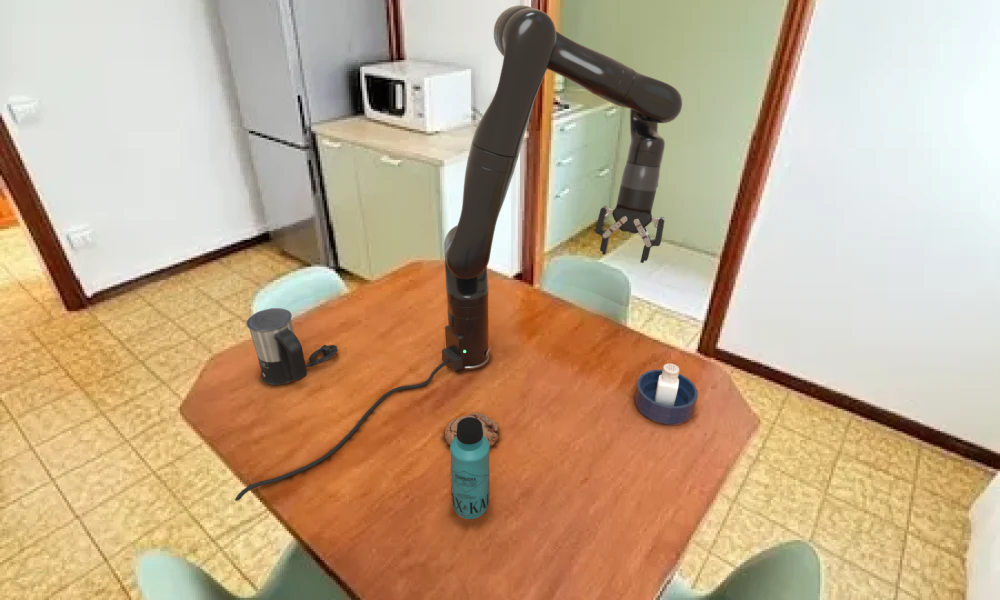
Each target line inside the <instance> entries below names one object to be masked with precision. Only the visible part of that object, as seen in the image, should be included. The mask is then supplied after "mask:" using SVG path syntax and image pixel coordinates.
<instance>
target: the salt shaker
mask: <svg viewBox="0 0 1000 600" xmlns="http://www.w3.org/2000/svg"><path fill="white" fill-rule="evenodd" d="M662 370H663V371H662V375H659V379H658V384H657V389H656V394H655V400H654V402H657V403H659V404H662V405H667V406H674V404H675V399H676V395H677V391H678V385H679V379H678V375H679V374H680V370H681V369H680V367H679V366H678V365H676V364H675V363H665V364H664V365H663V367H662Z"/></svg>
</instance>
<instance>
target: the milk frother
mask: <svg viewBox="0 0 1000 600" xmlns="http://www.w3.org/2000/svg"><path fill="white" fill-rule="evenodd" d="M292 316H293V314H292V312H291V311H290V310H288V309H285V308H281V307H272V308H271V307H270V308H267V309H263V310H259V311H257V312H255V313H253V314H252V315H250V317H248V319H247V320H246V324H245V325H246V327H247V328H248V329H249V333H250V336H251V339H252V343H253V345H254V346H253V347H254V351H255V353H256V356H257V360H258V362H259V366H260V371H261V379H262V381H263V382H265V383H266V384H268V385H273V386H280V385H286V384H288V383H292V382H293V381H300V380H303V378H306V377H307V375H308V372H307V369H308V368H311V367H315V366H317V365H320V364H321V363H324V362H326V361H329V360H330V359H332V358H333V357H334V356H336V354H337V353H338V352H339V348H338V346H337V345H335V344H328V345H327V344H323V345H322V346H319V347H318V349H317V350H315V351H314V352H312V353H311V354H310V355H309V358H308V362H309V363H308V364H306V361H305V355H304V350H303V346H302V343H301V342H300V339H299V338H298V336H297V335H296V333H295V329H294V326H293V321H292ZM320 353H321V355H322V356H323V357H320V358H316V357H317V356H318V355H319V354H320ZM315 358H316V359H315Z"/></svg>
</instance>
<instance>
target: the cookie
mask: <svg viewBox="0 0 1000 600" xmlns="http://www.w3.org/2000/svg"><path fill="white" fill-rule="evenodd" d="M467 417H474V418H477V419H478V420H480V422H481V423H482V428H483V435H484V436H485V437H486V438H487V439H488V441H489V444H490V448H491V447H492V446H494V445H495V444H496V442H497V441H498V440H499V435H498V432H499V428H500V427H499V423H498V422H497V421H496V420H494V419H493V418H492V417H490V416H488V415H487V414H485V413H480V412H470V413H469V414H464V415H461V416H459V417H456V419H451V421H450V422H449V423H448V424H447V425H446V428H445V430H444V438H445V441H446V443H447V444H448V445H449V446H450V444H451V441H452V440H453V438H454V437H455V436H456V432H457V425H458V422H459V421H460V420H462V419H463V418H467Z"/></svg>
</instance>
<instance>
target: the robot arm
mask: <svg viewBox="0 0 1000 600" xmlns="http://www.w3.org/2000/svg"><path fill="white" fill-rule="evenodd" d="M493 40H494V43H495V46H496V49H497V50H498V52H499V53H500V55H502V56H503V60H502V65H501V70H500V73H499V75H500V76H499V79H498V84H497V87H496V90H495V93H494V95H493V97H492V99H491V101H490V103H489V105H488V107H487V108H486V110H485V112H484V113H483V115H482V117H481V118H480V121H479V122H478V123H477V127H476V129H475V131H474V134H473V136H472V141H471V144H470V148H469V151H468V157H467V160H466V166H465V167H466V168H465V173H464V181H463V182H464V183H463V190H462V191H463V192H462V205H461V212H460V216H459V220H458V222H457V225H455V226H453V227H452V228H451V229H450V230H449V231H448V232H447V234H446V236H445V238H444V240H443V241H444V243H443V252H444V269H445V270H444V271H445V289H446V303H447V304H446V306H447V307H446V308H447V325H445V326H444V337H445V348H442V349H441V360H442V361H443V362H441V363H440V364H439V365H438V366H436V367H435V368H434V370H433V371H432V372H431V374H430V376H429V377H428V379H426V380H425V381H423V382H421V383H417V384H410V385H401V386H397V387H395V388H393V389H391V390H389V391H387V392H385V393H384V394H383V395H382V396H381V397H380V398H378V399H377V400H376V402H375V403H374V404H373V405H372V406H371V407H369V409H368V410H367V411H366V412H365V413H364V414H363V416H361V418H360V419H359V421H358V422H357V423H356V425H355V426H354V427H353V428H352V429H351V430H350V431H349V433H348V434H346V435H345V436H344V437H343V439H341V441H339V442H338V443H337V444H336V446H334V447H333V448H332V449H331V450H330V451H328V452H327V453H325V454H323V455H322V456H320V457H319V458H318V459H316V460H315V461H312V462H310V463H308V464H306V465H304V466H302V467H299V468H297V469H294V470H291V471H289V472H287V473H285V474H282V475H280V476H276V477H273V478H269V479H266V480H261V481H257V482H255V483H252V484H250V485H247V486H246V487H245V488H244V489H242V490H241V491H240V492H239V493H238V494H237V495H236V497H235V498H234V501H236V502H238V501H240V500H241V499H242V498H243V497H244V495H245V494H247V493H248V492H250V491H252V490H253V489H255V488H256V489H257V488H258V487H262V486H267V485H270V484H274V483H277V482H280V481H284V480H286V479H288V478H290V477H293V476H295V475H298V474H301V473H302V472H305V471H307V470H310V469H312V468H313V467H315V466H317V465H319V464H320V463H322V462H324V461H325V460H327V459H329V457H331V456H332V455H334V454H335V453H336V452H337V451H338V450H339V449H340V448H341V447H342V446H344V444H346V442H347V441H348V440H349V439H350V438H352V436H353V435H355V433H356V432H357V430H358V429H359V428H360V427H361V426H362V425H363V423H364V422H365V421H366V420H367V418H368V417H369V415H371V413H372V412H373V411H375V409H377V408H378V406H379V405H380V404H381V403H382V402H383V401H384V400H385V399H386V398H387V397H389V396H391V395H392V394H394V393H396V392H400V391H404V390H413V389H419V388H422V387H425V386H426V385H428V384H430V383H431V381H432V380H433V378H434V376H435V375H436V374H437V373H438V372H439V371H440V370H441V369H442V368H443V367H445V366H446V365H447V366H449V368H450V369H452V370H453V371H454V372H456V371H459V372H464V371H474V370H479V369H481V368H483V367H485V366H486V365H487V364H488V362H489V361H490V349H491V346H490V342H489V341H490V340H489V338H490V337H489V336H490V334H489V333H490V332H489V326H490V324H489V320H490V319H489V278H488V276H489V275H488V265H489V262H490V259H491V252H492V246H493V241H494V235H495V231H496V225H497V221H498V218H499V216H500V212H501V211H502V208H503V205H504V202H505V200H506V197H507V194H508V192H509V191H508V190H509V188H510V184H511V182H512V179H513V176H514V173H515V169H516V167H517V163H518V160H519V156H520V152H521V150H522V145H523V141H524V138H525V135H526V132H527V129H528V124H529V121H530V117H531V114H532V110H533V106H534V103H535V100H536V97H537V95H538V93H539V89H540V87H541V85H542V82H543V81H544V77H545V75H546V72H547V70H548V71H551V72H553V73H555V74H557V75H559V76H561V77H562V78H565V79H566V80H568V81H569V82H572V83H573V84H575V85H577V86H579V87H581V89H584V90H585V91H587V92H589V93H591V94H592V95H594V96H597V97H598V98H600V99H602V100H604V101H607V102H609V103H610V104H612V105H615V106H617V107H621V108H626V109H629V110H630V111H629V112H630V113H629V115H630V116H629V127H630V128H629V131H630V144H629V148H628V152H627V158H626V161H625V162H626V163H625V166H624V168H623V171H622V176H621V181H620V186H619V191H618V196H617V200H616V206H615V208H609V207H608V206H607V205H603V206H602V207H601V208H600V210H599V213H598V218H597V221H596V226H595V229H594V233H595V234H596V235H599V236H600V237H601V242H600V247H599V250H600V252H602V253H601V254H602V255H606V254H607V252H608V248H609V243H610V238H611V237H610V236H611V235H612V234H613V233H614V232H616V231H618V229H619V230H620V231H621V232H624V233H625V232H626V233H631V234H634V235H635V234H639V236H640V238H641V239H642V241H643V243H644V245H643V248H642V253H641V256H640V257H641V258H640V263H641V264H644V263H645V262H647V261H648V259H649V257H650V252H651V248H652V247H659V246H660V245H661V243H662V238H663V234H664V233H663V232H664V227H665V221H666V219H665V217H664V216H659V217H657V216H653V215H652V214H653V213H652V211H653V205H654V203H655V197H656V194H657V189H658V187H659V180H660V176H661V175H660V172H661V166H662V161H663V157H664V153H665V149H666V148H665V147H666V140H665V138H663V137H662V136H661V135H660V134H659V131H658V130H659V128H658V127H659V124H668V123H670V122H673V121H674V120H676V119H677V118H678V117H679V116H680V114H681V112H682V110H683V103H684V102H683V97H682V95H681V93H680V91H679V90H678V89H677V88H676V87H674V86H673V85H671V84H669V83H668V82H667V83H666V82H664V81H662V80H659V79H656V78H653V77H651V76H648V75H645V74H642V73H640V72H638V71H636V70H635V69H633V68H632V67H630V66H628V65H626V64H624V63H622V62H621V61H619V60H617V59H615V58H613V57H611V56H609V55H606V54H604V53H602V52H599V51H597V50H594V49H593V48H589V47H588V46H585V45H583V44H581V43H578V42H576V41H574V40H572V39H570V38H569V37H567V36H565V35H564V34H562V33H560V32H558V30H556V25H555V23H554V21H553V19H552V18H551V16H549V15H548V14H547V13H546V12H544V11H543V10H541V9H538V8H534V7H532V6H529V5H523V4H522V5H513V6H510V7H508V8H507V9H505V10H503V11H502V12H501V13H500V14H499V16H498V17H497V18H496V21H495V23H494V26H493ZM610 215H612V217H613V220H614V221H615V222H614V223H612V224H611V226H610V227H608V228H607V229H604V224H605V221H606V219H607V218H609V217H610ZM651 223H653V227H654V228H656V233H655V238H653V239H652V237H651V236H650V233H649V231H648V229H647V226H649V225H650V224H651Z"/></svg>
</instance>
